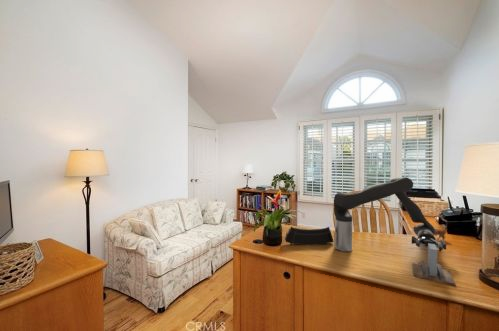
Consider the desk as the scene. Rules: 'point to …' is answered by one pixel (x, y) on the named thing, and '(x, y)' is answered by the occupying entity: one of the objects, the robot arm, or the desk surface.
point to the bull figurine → (440, 233)
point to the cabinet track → (442, 276)
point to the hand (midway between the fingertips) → (429, 247)
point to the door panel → (432, 259)
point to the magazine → (308, 236)
